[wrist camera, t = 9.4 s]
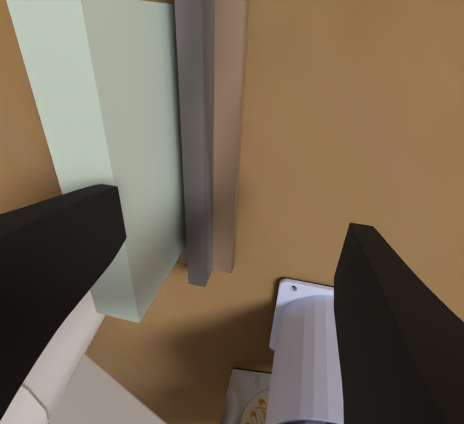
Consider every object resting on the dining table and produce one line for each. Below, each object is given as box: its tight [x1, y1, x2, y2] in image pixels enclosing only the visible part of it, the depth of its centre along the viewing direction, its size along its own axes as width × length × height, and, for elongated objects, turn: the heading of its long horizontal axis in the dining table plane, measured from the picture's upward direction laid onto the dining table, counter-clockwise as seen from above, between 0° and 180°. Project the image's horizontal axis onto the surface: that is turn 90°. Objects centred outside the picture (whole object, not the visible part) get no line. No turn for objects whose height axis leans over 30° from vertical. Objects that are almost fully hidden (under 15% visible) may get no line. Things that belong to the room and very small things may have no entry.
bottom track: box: [142, 0, 249, 287], centre depth 18 cm, size 9×18×3 cm, turn 178°
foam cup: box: [0, 290, 105, 424], centre depth 22 cm, size 10×9×13 cm
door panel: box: [6, 0, 187, 323], centre depth 15 cm, size 2×14×7 cm, turn 178°
